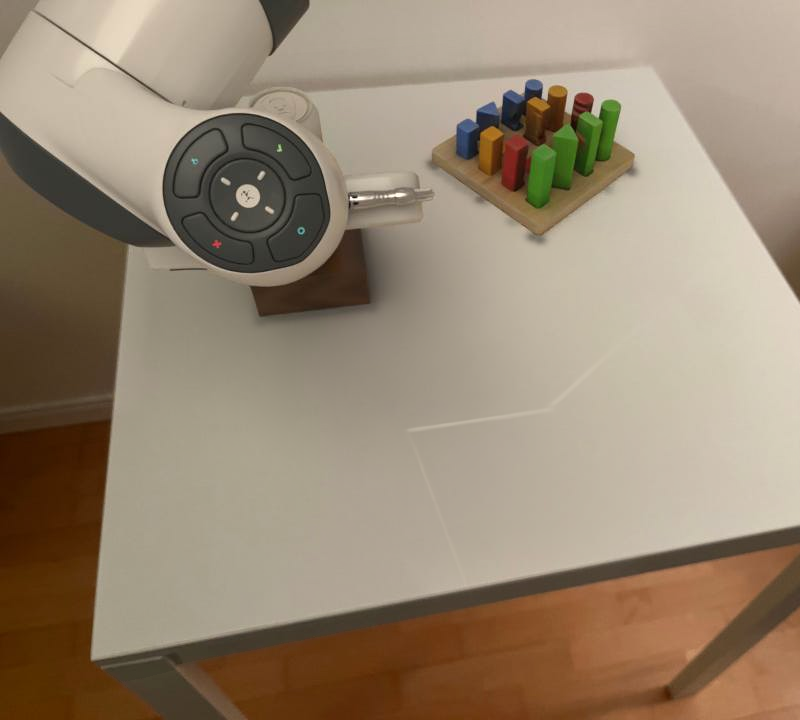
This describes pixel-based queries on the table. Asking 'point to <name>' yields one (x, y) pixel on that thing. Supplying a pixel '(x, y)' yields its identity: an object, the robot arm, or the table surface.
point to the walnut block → (322, 283)
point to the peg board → (537, 154)
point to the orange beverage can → (289, 106)
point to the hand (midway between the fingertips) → (292, 213)
